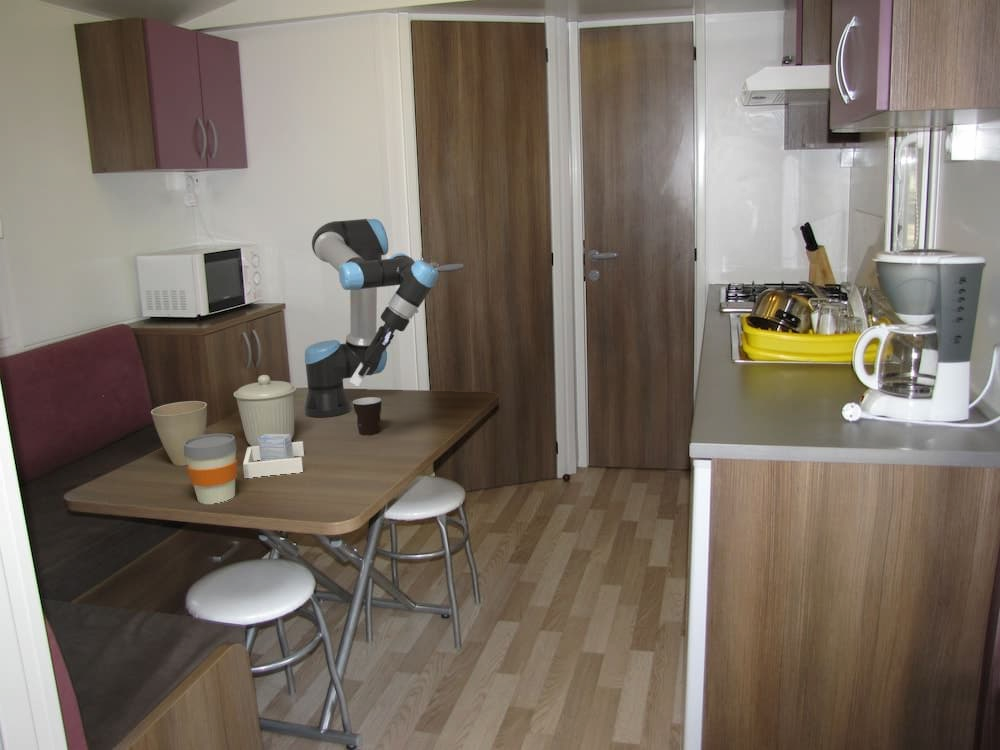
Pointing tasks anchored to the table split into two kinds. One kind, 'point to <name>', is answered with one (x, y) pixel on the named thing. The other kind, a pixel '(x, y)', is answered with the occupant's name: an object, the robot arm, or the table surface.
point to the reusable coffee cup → (212, 466)
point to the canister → (266, 408)
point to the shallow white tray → (272, 463)
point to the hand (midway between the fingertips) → (353, 383)
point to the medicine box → (275, 447)
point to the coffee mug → (368, 415)
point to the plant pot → (179, 426)
